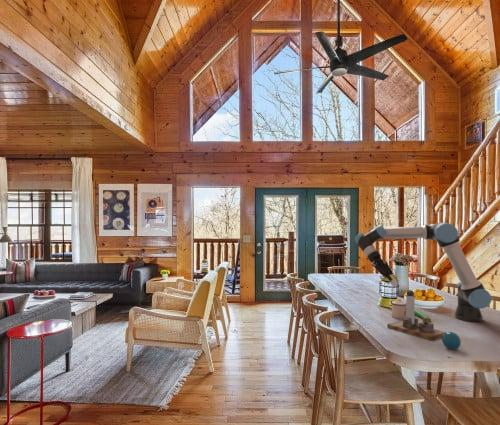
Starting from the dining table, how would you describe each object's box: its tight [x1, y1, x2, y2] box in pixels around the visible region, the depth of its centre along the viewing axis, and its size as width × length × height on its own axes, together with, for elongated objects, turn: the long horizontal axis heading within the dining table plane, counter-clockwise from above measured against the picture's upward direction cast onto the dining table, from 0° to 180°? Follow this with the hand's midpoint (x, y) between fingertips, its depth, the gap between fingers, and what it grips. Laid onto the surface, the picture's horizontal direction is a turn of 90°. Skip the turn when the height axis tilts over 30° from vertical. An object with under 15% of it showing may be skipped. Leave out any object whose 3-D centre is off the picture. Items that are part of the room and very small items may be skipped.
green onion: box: [414, 308, 431, 323], centre depth 226 cm, size 5×3×30 cm
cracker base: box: [386, 317, 446, 341], centre depth 191 cm, size 26×14×9 cm, turn 33°
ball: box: [441, 331, 462, 350], centre depth 165 cm, size 8×8×8 cm
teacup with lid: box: [391, 298, 407, 320], centre depth 223 cm, size 12×9×12 cm
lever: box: [405, 289, 416, 325], centre depth 194 cm, size 4×4×19 cm
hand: (395, 284), depth 202 cm, fingers closed
